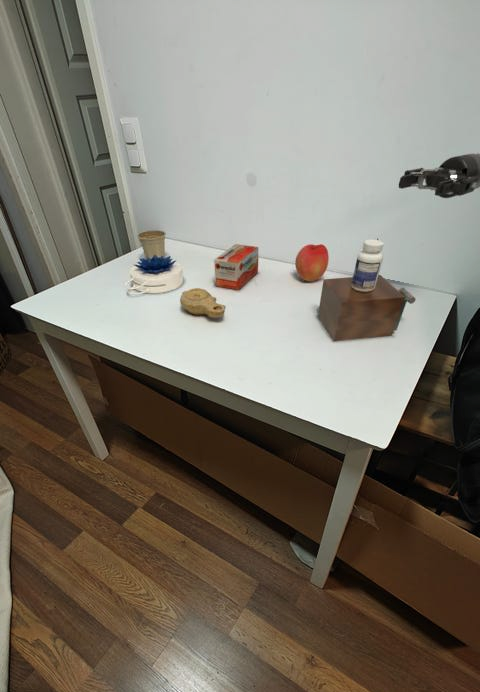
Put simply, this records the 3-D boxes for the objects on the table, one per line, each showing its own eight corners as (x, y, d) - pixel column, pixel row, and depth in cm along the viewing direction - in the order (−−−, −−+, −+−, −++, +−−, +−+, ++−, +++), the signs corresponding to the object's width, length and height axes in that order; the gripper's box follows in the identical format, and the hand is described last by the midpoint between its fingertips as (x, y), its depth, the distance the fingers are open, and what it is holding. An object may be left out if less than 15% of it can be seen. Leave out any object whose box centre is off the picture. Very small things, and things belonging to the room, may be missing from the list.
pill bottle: (356, 281, 82) (366, 236, 75) (378, 286, 80) (390, 241, 73) (347, 289, 79) (356, 243, 72) (369, 294, 77) (381, 248, 70)
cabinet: (370, 311, 91) (380, 274, 84) (391, 335, 83) (405, 297, 76) (317, 315, 90) (323, 279, 83) (334, 341, 81) (342, 302, 74)
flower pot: (148, 255, 123) (143, 229, 116) (173, 257, 121) (169, 230, 115) (138, 265, 116) (132, 238, 110) (164, 267, 115) (159, 239, 109)
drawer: (391, 307, 91) (401, 277, 85) (413, 328, 83) (425, 297, 77) (327, 313, 89) (332, 283, 83) (343, 335, 81) (350, 304, 76)
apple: (323, 274, 109) (329, 240, 102) (326, 286, 102) (332, 251, 95) (293, 273, 110) (296, 239, 103) (293, 285, 103) (297, 250, 96)
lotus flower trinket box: (152, 247, 109) (104, 267, 97) (191, 256, 103) (144, 279, 91) (156, 269, 114) (111, 291, 102) (193, 279, 108) (149, 304, 96)
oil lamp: (222, 326, 87) (221, 307, 83) (171, 318, 90) (168, 300, 86) (235, 307, 94) (235, 289, 90) (187, 301, 97) (185, 283, 93)
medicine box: (236, 268, 113) (235, 242, 107) (258, 272, 111) (259, 246, 105) (214, 286, 103) (213, 259, 98) (239, 291, 101) (238, 263, 95)
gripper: (438, 151, 79) (395, 159, 72) (501, 158, 71) (460, 168, 64) (425, 189, 84) (384, 200, 78) (483, 200, 76) (443, 213, 69)
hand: (418, 185), depth 71 cm, fingers open, 8 cm apart
